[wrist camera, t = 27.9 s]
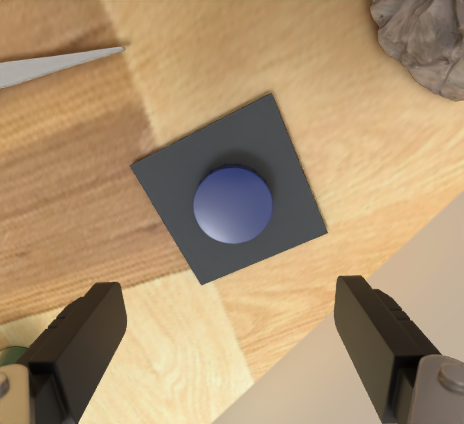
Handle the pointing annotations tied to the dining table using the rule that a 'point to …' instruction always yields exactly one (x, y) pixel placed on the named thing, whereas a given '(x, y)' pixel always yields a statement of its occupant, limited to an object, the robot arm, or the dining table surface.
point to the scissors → (47, 65)
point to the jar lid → (233, 204)
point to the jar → (11, 355)
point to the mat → (232, 152)
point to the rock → (425, 41)
